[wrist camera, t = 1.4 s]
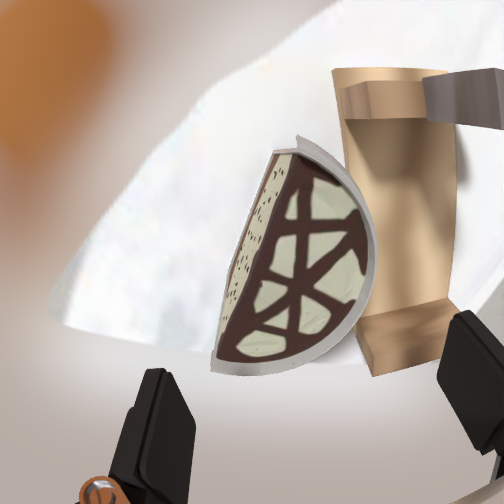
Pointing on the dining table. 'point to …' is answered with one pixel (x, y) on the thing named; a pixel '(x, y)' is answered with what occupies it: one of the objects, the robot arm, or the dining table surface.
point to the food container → (296, 266)
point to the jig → (403, 225)
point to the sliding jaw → (432, 99)
